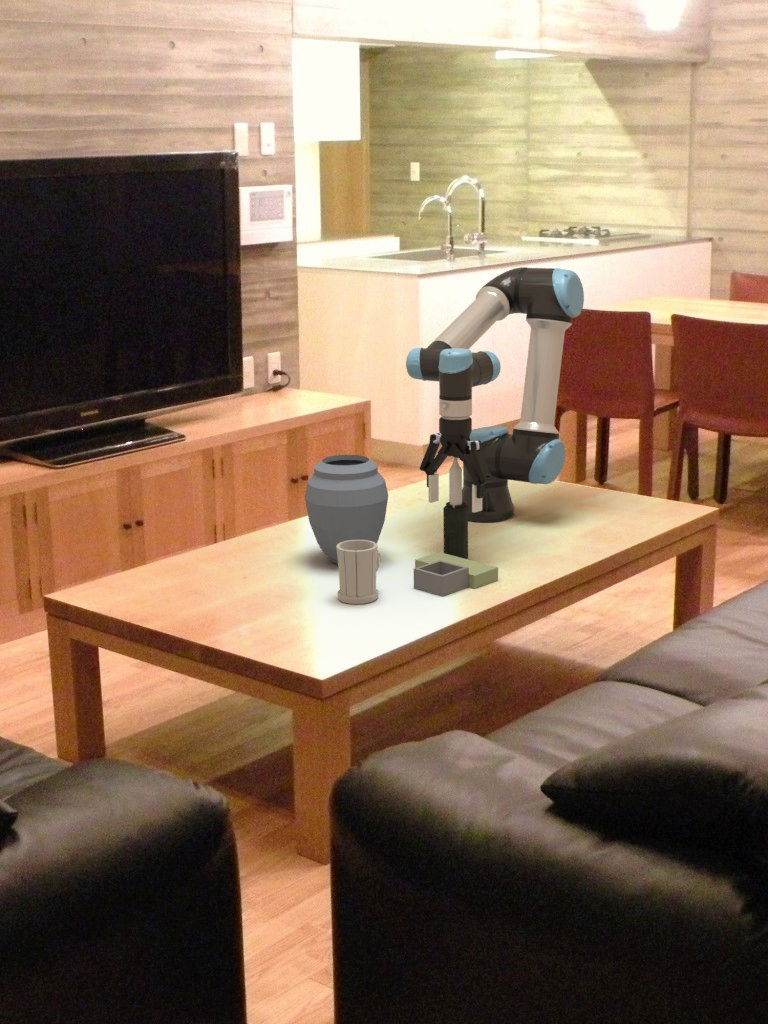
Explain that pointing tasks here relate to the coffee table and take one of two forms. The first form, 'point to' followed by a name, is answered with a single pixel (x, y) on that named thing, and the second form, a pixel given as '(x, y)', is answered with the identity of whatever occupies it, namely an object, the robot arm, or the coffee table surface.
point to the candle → (455, 516)
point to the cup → (357, 571)
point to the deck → (451, 574)
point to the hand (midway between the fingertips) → (455, 506)
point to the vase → (345, 501)
